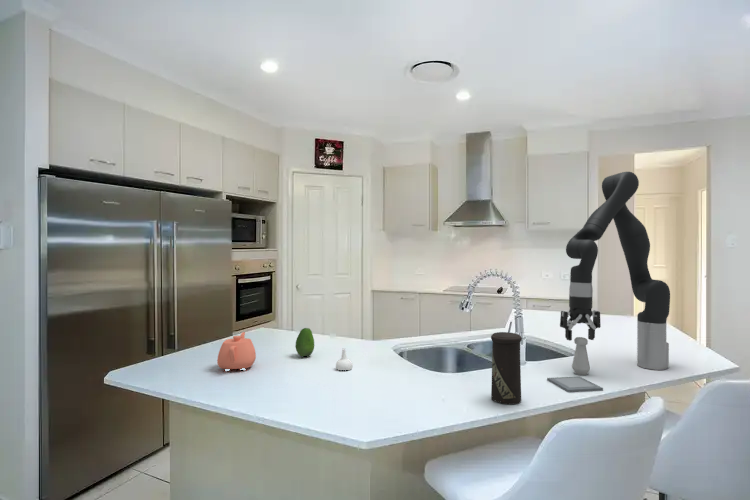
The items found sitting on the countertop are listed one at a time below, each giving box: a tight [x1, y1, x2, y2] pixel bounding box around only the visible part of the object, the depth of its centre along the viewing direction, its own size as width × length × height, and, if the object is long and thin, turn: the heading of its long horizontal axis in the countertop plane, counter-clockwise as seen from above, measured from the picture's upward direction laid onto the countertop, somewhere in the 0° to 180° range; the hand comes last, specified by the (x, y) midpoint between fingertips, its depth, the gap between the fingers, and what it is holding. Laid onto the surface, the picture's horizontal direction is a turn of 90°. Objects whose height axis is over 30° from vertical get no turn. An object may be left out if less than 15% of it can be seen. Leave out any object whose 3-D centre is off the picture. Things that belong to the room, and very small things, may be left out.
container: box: [490, 331, 523, 405], centre depth 124 cm, size 9×9×20 cm
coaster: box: [546, 375, 604, 393], centre depth 137 cm, size 12×12×1 cm
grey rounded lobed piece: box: [571, 336, 591, 376], centre depth 149 cm, size 6×6×13 cm
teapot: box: [216, 331, 257, 370], centre depth 158 cm, size 13×20×12 cm, turn 5°
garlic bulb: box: [335, 348, 354, 371], centre depth 155 cm, size 6×6×8 cm
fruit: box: [294, 327, 315, 357], centre depth 173 cm, size 8×8×12 cm
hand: (579, 339), depth 149 cm, fingers open, 8 cm apart
